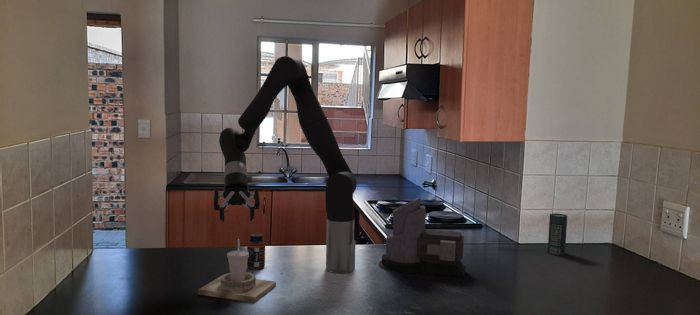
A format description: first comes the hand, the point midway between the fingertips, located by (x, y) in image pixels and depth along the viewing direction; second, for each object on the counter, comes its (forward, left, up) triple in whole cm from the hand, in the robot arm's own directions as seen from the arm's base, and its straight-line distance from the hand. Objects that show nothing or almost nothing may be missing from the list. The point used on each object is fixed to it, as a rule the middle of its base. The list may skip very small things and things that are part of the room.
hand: (237, 219), depth 165 cm
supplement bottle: (0, -13, -19) cm, 23 cm away
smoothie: (-5, +9, -18) cm, 20 cm away
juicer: (-53, -34, -19) cm, 66 cm away
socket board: (-5, +9, -19) cm, 22 cm away
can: (-100, -71, -19) cm, 124 cm away
